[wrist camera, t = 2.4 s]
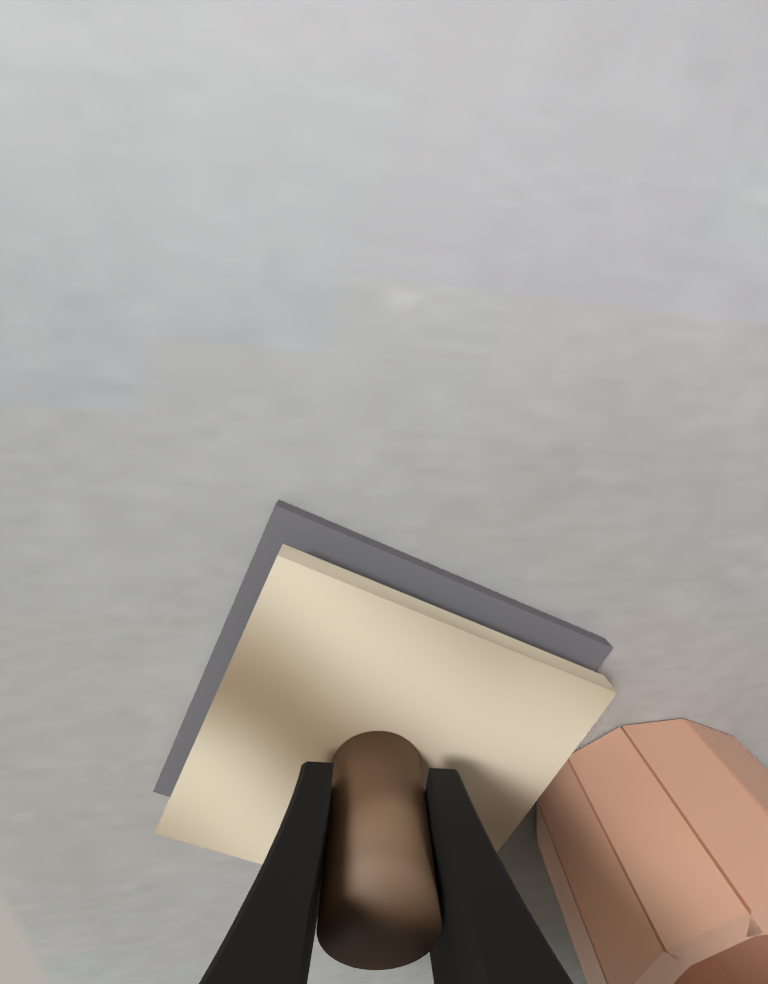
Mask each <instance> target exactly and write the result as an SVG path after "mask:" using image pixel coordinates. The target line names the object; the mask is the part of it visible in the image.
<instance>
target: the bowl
mask: <svg viewBox="0 0 768 984" xmlns="http://www.w3.org/2000/svg"><path fill="white" fill-rule="evenodd" d="M537 843H538V846H539V848H540V851H541V854H542V857H543V860H544V863H545V865H546V868H547V871H548V874H549V877H550V880H551V882H552V885H553V888H554V891H555V894H556V897H557V899H558V902H559V905H560V908H561V911H562V914H563V917H564V919H565V922H566V925H567V928H568V931H569V934H570V936H571V939H572V942H573V945H574V948H575V951H576V953H577V956H578V959H579V962H580V965H581V968H582V970H583V973H584V976H585V979H586V982H587V984H768V771H767V770H766V769H765V768H764V767H763V766H762V765H761V764H760V763H759V762H758V761H757V760H756V759H755V758H754V757H753V756H752V755H751V754H750V753H749V752H748V751H747V750H746V749H745V748H744V747H743V746H742V745H741V744H740V743H739V742H738V741H737V740H736V739H735V738H734V737H733V736H731V735H728V734H725V733H722V732H720V731H717V730H714V729H711V728H708V727H706V726H703V725H700V724H697V723H695V722H692V721H689V720H686V719H684V720H683V719H675V720H666V721H658V722H649V723H641V724H633V725H624V726H622V729H621V727H618V728H616V729H615V730H613V731H611V732H609V733H608V734H606V735H604V736H602V737H600V738H599V739H597V740H595V741H593V742H592V743H590V744H588V745H586V746H585V747H583V748H581V749H579V750H577V751H576V752H574V753H572V754H571V756H570V757H569V758H568V760H567V761H566V762H565V764H564V765H563V766H562V768H561V769H560V770H559V772H558V773H557V774H556V776H555V777H554V778H553V780H552V781H551V782H550V784H549V785H548V786H547V788H546V789H545V790H544V792H543V793H542V794H541V796H540V797H539V798H538V801H537Z"/></svg>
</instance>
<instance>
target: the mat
mask: <svg viewBox="0 0 768 984" xmlns="http://www.w3.org/2000/svg"><path fill="white" fill-rule="evenodd" d="M283 544H285V545H287V546H290V547H292V548H295V549H297V550H300V551H302V552H304V553H307V554H309V555H312V556H314V557H317V558H319V559H321V560H324V561H326V562H329V563H331V564H334V565H336V566H338V567H341V568H343V569H346V570H348V571H351V572H353V573H356V574H358V575H360V576H363V577H365V578H368V579H370V580H373V581H375V582H377V583H380V584H382V585H385V586H387V587H390V588H392V589H395V590H397V591H399V592H402V593H404V594H407V595H409V596H412V597H414V598H416V599H419V600H421V601H424V602H426V603H429V604H431V605H433V606H436V607H438V608H441V609H443V610H446V611H448V612H451V613H453V614H455V615H458V616H460V617H463V618H465V619H468V620H470V621H472V622H475V623H477V624H480V625H482V626H485V627H487V628H490V629H492V630H494V631H497V632H499V633H502V634H504V635H507V636H509V637H511V638H514V639H516V640H519V641H521V642H524V643H526V644H528V645H531V646H533V647H536V648H538V649H541V650H543V651H546V652H548V653H550V654H553V655H555V656H558V657H560V658H563V659H565V660H567V661H570V662H572V663H575V664H577V665H580V666H582V667H585V668H587V669H589V670H592V671H594V672H596V671H597V669H598V668H599V666H600V665H601V664H602V662H603V661H604V659H605V658H606V657H607V655H608V654H609V652H610V651H611V650H612V648H613V647H612V646H611V645H610V644H609V643H608V642H607V640H606V639H605V638H602V637H600V636H598V635H595V634H593V633H590V632H588V631H586V630H583V629H581V628H579V627H576V626H574V625H572V624H569V623H567V622H565V621H562V620H560V619H558V618H555V617H553V616H551V615H548V614H546V613H543V612H541V611H539V610H536V609H534V608H532V607H529V606H527V605H525V604H522V603H520V602H518V601H515V600H513V599H511V598H508V597H506V596H504V595H501V594H499V593H497V592H494V591H492V590H489V589H487V588H485V587H482V586H480V585H478V584H475V583H473V582H471V581H468V580H466V579H464V578H461V577H459V576H457V575H454V574H452V573H450V572H447V571H445V570H442V569H440V568H438V567H435V566H433V565H431V564H428V563H426V562H424V561H421V560H419V559H417V558H414V557H412V556H410V555H407V554H405V553H403V552H400V551H398V550H395V549H393V548H391V547H388V546H386V545H384V544H381V543H379V542H377V541H374V540H372V539H370V538H367V537H365V536H363V535H360V534H358V533H356V532H353V531H351V530H348V529H346V528H344V527H341V526H339V525H337V524H334V523H332V522H330V521H327V520H325V519H323V518H320V517H318V516H316V515H313V514H311V513H309V512H306V511H304V510H301V509H299V508H297V507H294V506H292V505H290V504H287V503H285V502H283V501H280V500H278V502H277V503H276V505H275V507H274V509H273V512H272V514H271V516H270V519H269V521H268V524H267V526H266V528H265V531H264V533H263V535H262V538H261V540H260V542H259V545H258V547H257V549H256V552H255V554H254V556H253V559H252V561H251V563H250V566H249V568H248V570H247V573H246V575H245V577H244V580H243V582H242V584H241V587H240V589H239V592H238V594H237V596H236V599H235V601H234V603H233V606H232V608H231V610H230V613H229V615H228V617H227V620H226V622H225V624H224V627H223V629H222V631H221V634H220V636H219V638H218V641H217V643H216V645H215V648H214V650H213V653H212V655H211V657H210V660H209V662H208V664H207V667H206V669H205V671H204V674H203V676H202V678H201V681H200V683H199V685H198V688H197V690H196V692H195V695H194V697H193V699H192V702H191V704H190V706H189V709H188V711H187V713H186V716H185V718H184V721H183V723H182V725H181V728H180V730H179V732H178V735H177V737H176V739H175V742H174V744H173V746H172V749H171V751H170V753H169V756H168V758H167V760H166V763H165V765H164V767H163V770H162V772H161V774H160V777H159V779H158V782H157V784H156V786H155V789H154V791H153V792H156V793H159V794H163V795H166V796H169V797H171V794H172V792H173V790H174V788H175V785H176V783H177V781H178V779H179V776H180V774H181V772H182V770H183V767H184V765H185V763H186V761H187V758H188V756H189V754H190V752H191V749H192V747H193V745H194V742H195V740H196V738H197V736H198V733H199V731H200V729H201V727H202V724H203V722H204V720H205V718H206V715H207V713H208V711H209V709H210V706H211V704H212V702H213V700H214V697H215V695H216V693H217V691H218V688H219V686H220V684H221V681H222V679H223V677H224V675H225V672H226V670H227V668H228V666H229V663H230V661H231V659H232V657H233V654H234V652H235V650H236V648H237V645H238V643H239V641H240V639H241V636H242V634H243V632H244V629H245V627H246V625H247V623H248V620H249V618H250V616H251V614H252V611H253V609H254V607H255V605H256V602H257V600H258V598H259V596H260V593H261V591H262V589H263V587H264V584H265V582H266V580H267V578H268V575H269V573H270V571H271V568H272V566H273V564H274V562H275V559H276V557H277V555H278V553H279V551H280V549H281V547H282V545H283Z"/></svg>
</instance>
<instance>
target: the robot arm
mask: <svg viewBox="0 0 768 984" xmlns="http://www.w3.org/2000/svg"><path fill="white" fill-rule="evenodd" d="M333 765H334V763H330V762H311V761H307V762H305V763H304V764H302V765H301V769H300V773H299V776H298V780H297V783H296V786H295V789H294V792H293V795H292V797H291V800H290V803H289V805H288V808H287V810H286V813H285V815H284V818H283V820H282V823H281V825H280V827H279V830H278V832H277V834H276V836H275V838H274V841H273V843H272V845H271V847H270V849H269V852H268V854H267V856H266V858H265V860H264V863H263V865H262V867H261V869H260V871H259V873H258V875H257V877H256V879H255V881H254V883H253V885H252V887H251V889H250V891H249V893H248V895H247V897H246V899H245V901H244V903H243V905H242V907H241V908H240V910H239V912H238V914H237V916H236V918H235V920H234V922H233V924H232V926H231V928H230V930H229V931H228V933H227V935H226V937H225V939H224V941H223V942H222V944H221V946H220V948H219V950H218V951H217V953H216V955H215V957H214V958H213V960H212V962H211V964H210V966H209V967H208V969H207V971H206V972H205V974H204V976H203V978H202V979H201V981H200V983H199V984H307V979H308V973H309V967H310V961H311V954H312V948H313V942H314V936H315V930H316V923H317V917H318V910H319V900H320V889H321V879H322V868H323V858H324V852H325V845H326V839H327V831H328V820H329V809H330V798H331V787H332V776H333ZM425 798H426V806H427V813H428V821H429V829H430V837H431V845H432V852H433V860H434V868H435V876H436V883H437V891H438V899H439V907H440V915H441V922H442V930H441V934H440V937H439V939H438V941H437V943H436V944H435V946H434V947H433V948H432V949H431V950H430V957H431V964H432V971H433V978H434V984H573V982H572V981H571V979H570V978H569V976H568V974H567V973H566V971H565V970H564V968H563V967H562V965H561V963H560V962H559V960H558V959H557V957H556V955H555V954H554V952H553V951H552V949H551V947H550V946H549V944H548V942H547V941H546V939H545V937H544V936H543V934H542V932H541V931H540V929H539V927H538V926H537V924H536V922H535V921H534V919H533V917H532V916H531V914H530V912H529V911H528V909H527V907H526V905H525V904H524V902H523V900H522V898H521V896H520V895H519V893H518V891H517V889H516V888H515V886H514V884H513V882H512V880H511V878H510V877H509V875H508V873H507V871H506V869H505V867H504V865H503V864H502V862H501V860H500V858H499V856H498V854H497V852H496V850H495V849H494V847H493V845H492V843H491V841H490V839H489V837H488V835H487V833H486V831H485V829H484V827H483V825H482V823H481V821H480V819H479V817H478V814H477V812H476V810H475V808H474V806H473V804H472V802H471V800H470V797H469V795H468V793H467V791H466V788H465V786H464V784H463V782H462V779H461V777H460V774H459V773H458V772H457V771H456V769H443V768H429V771H428V777H427V783H426V789H425Z"/></svg>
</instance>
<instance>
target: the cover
mask: <svg viewBox="0 0 768 984" xmlns="http://www.w3.org/2000/svg"><path fill="white" fill-rule="evenodd" d="M616 694H617V692H616V691H615V689H614V688H613V687H612V685H611V684H610V683H609V681H608V680H607V679H606V677H605V676H604V675H602V674H599V673H597V672H594V671H592V670H589V669H587V668H585V667H582V666H580V665H577V664H575V663H572V662H570V661H567V660H565V659H563V658H560V657H558V656H555V655H553V654H550V653H548V652H546V651H543V650H541V649H538V648H536V647H533V646H531V645H528V644H526V643H524V642H521V641H519V640H516V639H514V638H511V637H509V636H507V635H504V634H502V633H499V632H497V631H494V630H492V629H490V628H487V627H485V626H482V625H480V624H477V623H475V622H472V621H470V620H468V619H465V618H463V617H460V616H458V615H455V614H453V613H451V612H448V611H446V610H443V609H441V608H438V607H436V606H433V605H431V604H429V603H426V602H424V601H421V600H419V599H416V598H414V597H412V596H409V595H407V594H404V593H402V592H399V591H397V590H395V589H392V588H390V587H387V586H385V585H382V584H380V583H377V582H375V581H373V580H370V579H368V578H365V577H363V576H360V575H358V574H356V573H353V572H351V571H348V570H346V569H343V568H341V567H338V566H336V565H334V564H331V563H329V562H326V561H324V560H321V559H319V558H317V557H314V556H312V555H309V554H307V553H304V552H302V551H300V550H297V549H295V548H292V547H290V546H287V545H285V544H283V545H282V547H281V549H280V551H279V553H278V555H277V557H276V559H275V562H274V564H273V566H272V568H271V571H270V573H269V575H268V578H267V580H266V582H265V584H264V587H263V589H262V591H261V593H260V596H259V598H258V600H257V602H256V605H255V607H254V609H253V611H252V614H251V616H250V618H249V620H248V623H247V625H246V627H245V629H244V632H243V634H242V636H241V639H240V641H239V643H238V645H237V648H236V650H235V652H234V654H233V657H232V659H231V661H230V663H229V666H228V668H227V670H226V672H225V675H224V677H223V679H222V681H221V684H220V686H219V688H218V691H217V693H216V695H215V697H214V700H213V702H212V704H211V706H210V709H209V711H208V713H207V715H206V718H205V720H204V722H203V724H202V727H201V729H200V731H199V733H198V736H197V738H196V740H195V742H194V745H193V747H192V749H191V752H190V754H189V756H188V758H187V761H186V763H185V765H184V767H183V770H182V772H181V774H180V776H179V779H178V781H177V783H176V785H175V788H174V790H173V792H172V794H171V797H170V799H169V801H168V804H167V806H166V808H165V810H164V813H163V815H162V817H161V819H160V822H159V824H158V826H157V828H156V831H155V833H154V834H158V835H161V836H165V837H168V838H172V839H175V840H179V841H182V842H186V843H189V844H193V845H196V846H200V847H203V848H206V849H210V850H213V851H217V852H220V853H224V854H227V855H231V856H234V857H238V858H241V859H245V860H248V861H252V862H255V863H259V864H262V865H263V863H264V860H265V858H266V856H267V854H268V852H269V849H270V847H271V845H272V843H273V841H274V838H275V836H276V834H277V832H278V830H279V827H280V825H281V823H282V820H283V818H284V815H285V813H286V810H287V808H288V805H289V803H290V800H291V797H292V795H293V792H294V789H295V786H296V783H297V780H298V776H299V773H300V769H301V765H302V764H304V763H305V762H307V761H311V762H330V763H334V765H333V776H332V787H331V798H330V809H329V820H328V831H327V839H326V845H325V852H324V858H323V868H322V879H321V889H320V900H319V910H318V921H317V937H318V941H319V943H320V945H321V947H322V948H323V949H324V951H325V952H326V953H327V954H328V955H329V956H331V957H332V958H333V959H335V960H337V961H339V962H340V963H343V964H345V965H348V966H351V967H354V968H359V969H366V970H385V969H393V968H397V967H401V966H404V965H407V964H410V963H412V962H414V961H416V960H418V959H420V958H421V957H423V956H424V955H426V954H427V953H428V952H429V951H430V950H431V949H432V948H433V947H434V946H435V944H436V943H437V941H438V939H439V937H440V934H441V930H442V922H441V915H440V907H439V899H438V891H437V883H436V876H435V868H434V860H433V852H432V845H431V837H430V829H429V821H428V813H427V806H426V798H425V789H426V783H427V777H428V771H429V768H443V769H456V771H457V772H458V773H459V774H460V777H461V779H462V782H463V784H464V786H465V788H466V791H467V793H468V795H469V797H470V800H471V802H472V804H473V806H474V808H475V810H476V812H477V814H478V817H479V819H480V821H481V823H482V825H483V827H484V829H485V831H486V833H487V835H488V837H489V839H490V841H491V843H492V845H493V847H494V849H495V850H496V852H497V853H498V851H499V850H500V849H501V847H502V846H503V845H504V843H505V842H506V841H507V839H508V838H509V837H510V835H511V834H512V833H513V831H514V830H515V829H516V827H517V826H518V825H519V823H520V822H521V821H522V819H523V818H524V817H525V815H526V814H527V813H528V811H529V810H530V809H531V807H532V806H533V805H534V803H535V802H536V801H537V800H538V798H539V797H540V796H541V794H542V793H543V792H544V790H545V789H546V788H547V786H548V785H549V784H550V782H551V781H552V780H553V778H554V777H555V776H556V774H557V773H558V772H559V770H560V769H561V768H562V766H563V765H564V764H565V762H566V761H567V760H568V758H569V757H570V756H571V754H572V753H573V752H574V750H575V749H576V748H577V746H578V745H579V744H580V742H581V741H582V740H583V738H584V737H585V736H586V734H587V733H588V732H589V730H590V729H591V728H592V726H593V725H594V724H595V722H596V721H597V720H598V718H599V717H600V716H601V714H602V713H603V712H604V710H605V709H606V708H607V706H608V705H609V704H610V702H611V701H612V700H613V698H614V697H615V696H616Z"/></svg>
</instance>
